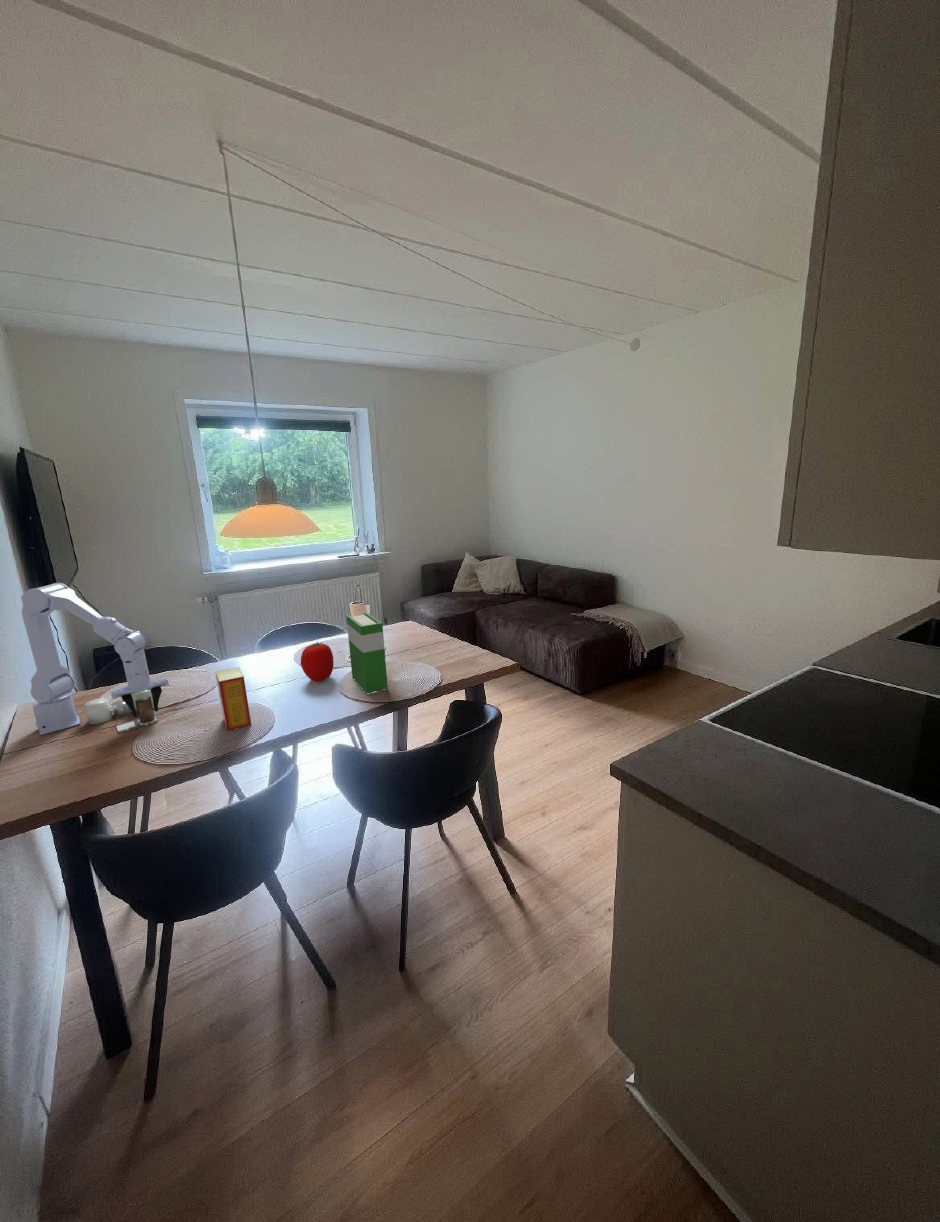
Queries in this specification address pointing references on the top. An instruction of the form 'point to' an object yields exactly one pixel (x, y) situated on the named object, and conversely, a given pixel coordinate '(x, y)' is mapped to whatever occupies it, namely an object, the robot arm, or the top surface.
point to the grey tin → (120, 708)
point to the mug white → (98, 711)
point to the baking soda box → (233, 698)
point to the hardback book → (367, 652)
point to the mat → (133, 725)
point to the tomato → (317, 662)
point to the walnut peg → (145, 709)
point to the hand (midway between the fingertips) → (146, 713)
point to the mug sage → (142, 694)
